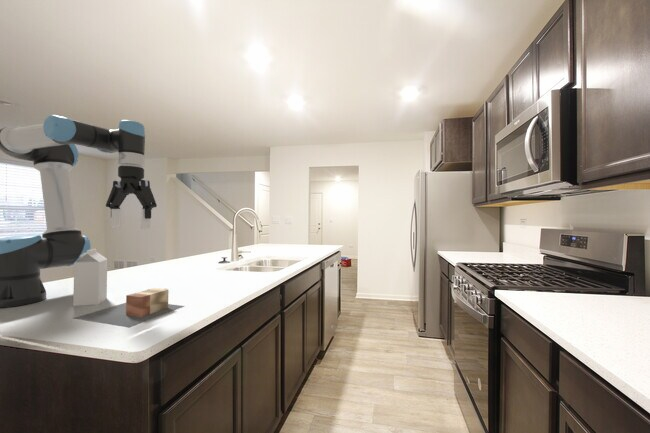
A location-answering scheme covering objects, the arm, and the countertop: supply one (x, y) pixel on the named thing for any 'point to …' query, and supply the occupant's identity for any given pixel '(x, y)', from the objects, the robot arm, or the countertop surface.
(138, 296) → the terracotta wooden block
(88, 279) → the milk carton
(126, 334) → the countertop surface
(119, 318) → the mat
